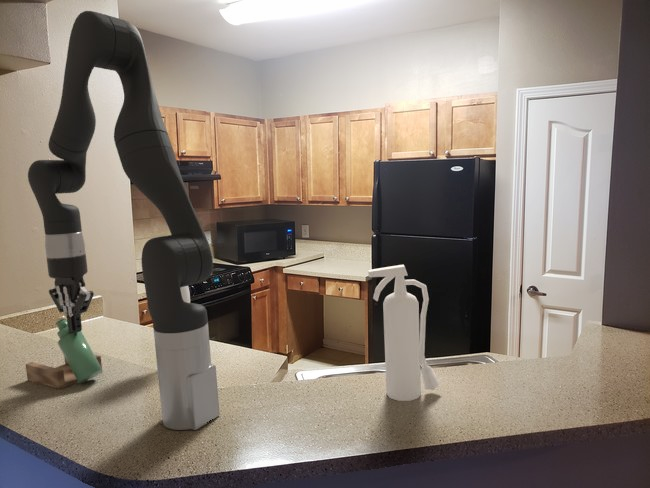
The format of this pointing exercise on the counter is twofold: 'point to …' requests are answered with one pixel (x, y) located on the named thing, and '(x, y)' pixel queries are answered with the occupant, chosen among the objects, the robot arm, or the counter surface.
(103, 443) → the counter surface
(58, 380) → the brown wooden u-shaped block
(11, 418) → the counter surface
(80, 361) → the bottle
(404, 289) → the fire extinguisher
